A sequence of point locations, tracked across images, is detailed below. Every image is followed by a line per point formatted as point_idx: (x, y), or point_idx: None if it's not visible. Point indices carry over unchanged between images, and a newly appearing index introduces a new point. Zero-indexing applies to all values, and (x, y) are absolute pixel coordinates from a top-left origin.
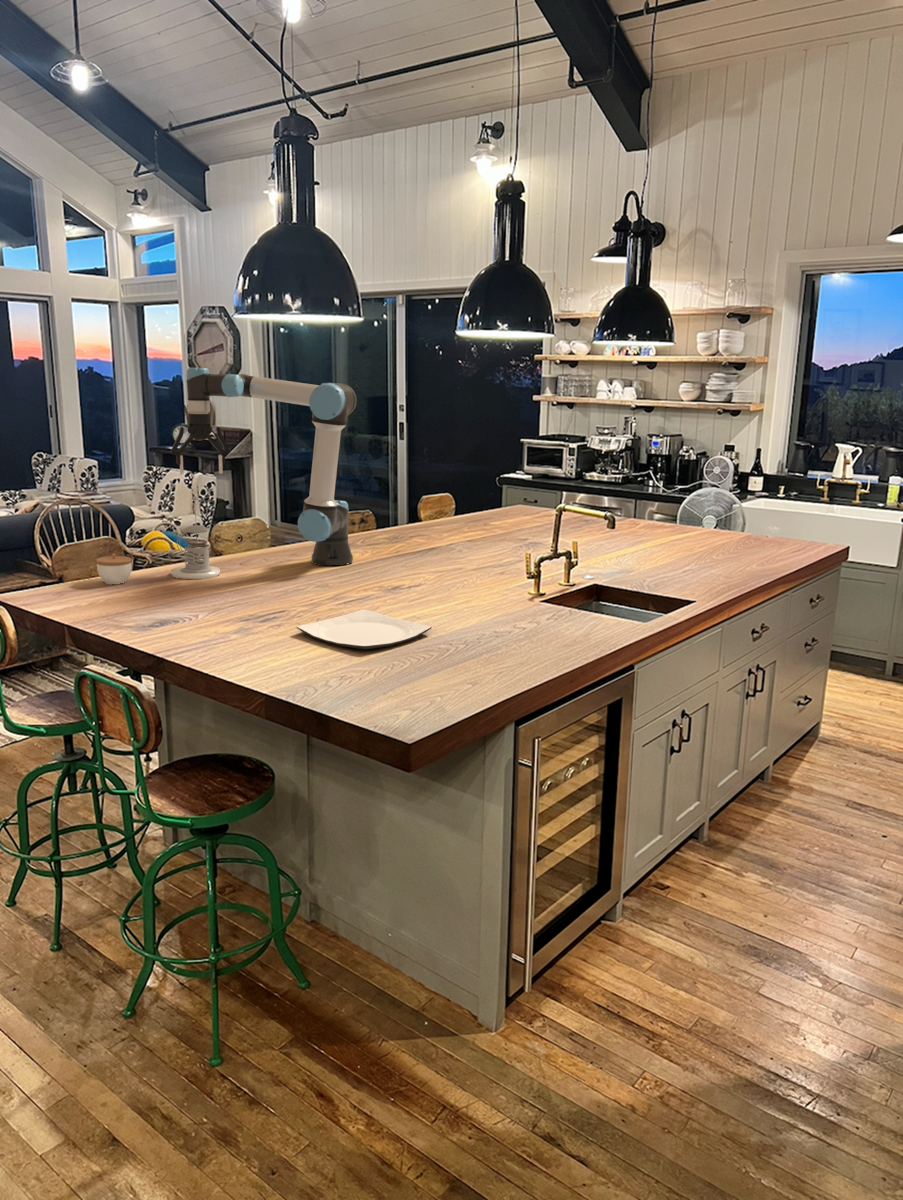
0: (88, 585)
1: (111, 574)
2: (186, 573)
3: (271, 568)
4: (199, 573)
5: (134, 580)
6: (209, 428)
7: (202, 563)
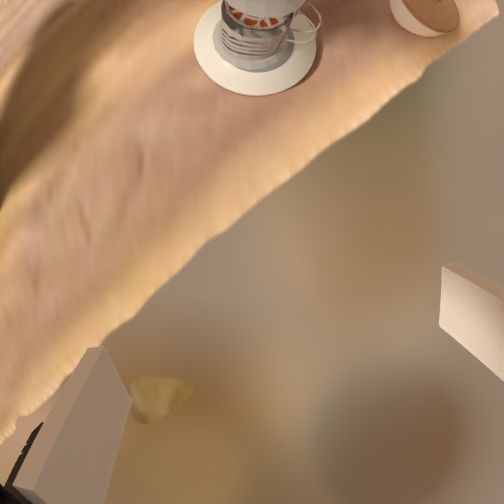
0: None
1: None
2: None
3: (71, 111)
4: None
5: (379, 20)
6: None
7: (239, 57)
